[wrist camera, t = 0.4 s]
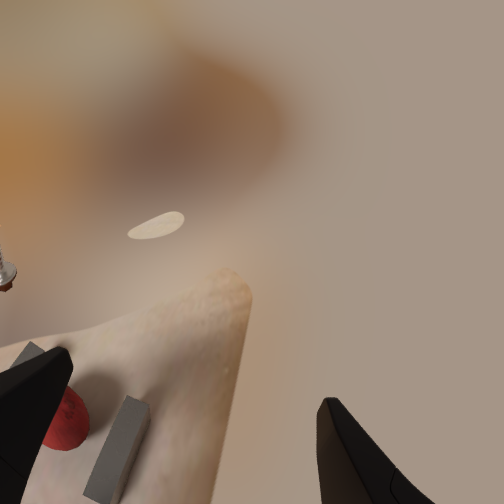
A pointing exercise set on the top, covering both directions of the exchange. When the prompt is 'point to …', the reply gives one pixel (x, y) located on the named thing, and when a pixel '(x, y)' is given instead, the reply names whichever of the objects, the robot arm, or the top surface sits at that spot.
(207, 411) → the top surface
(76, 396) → the onion
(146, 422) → the twin grey rails
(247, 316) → the top surface
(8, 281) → the screw
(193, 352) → the top surface
